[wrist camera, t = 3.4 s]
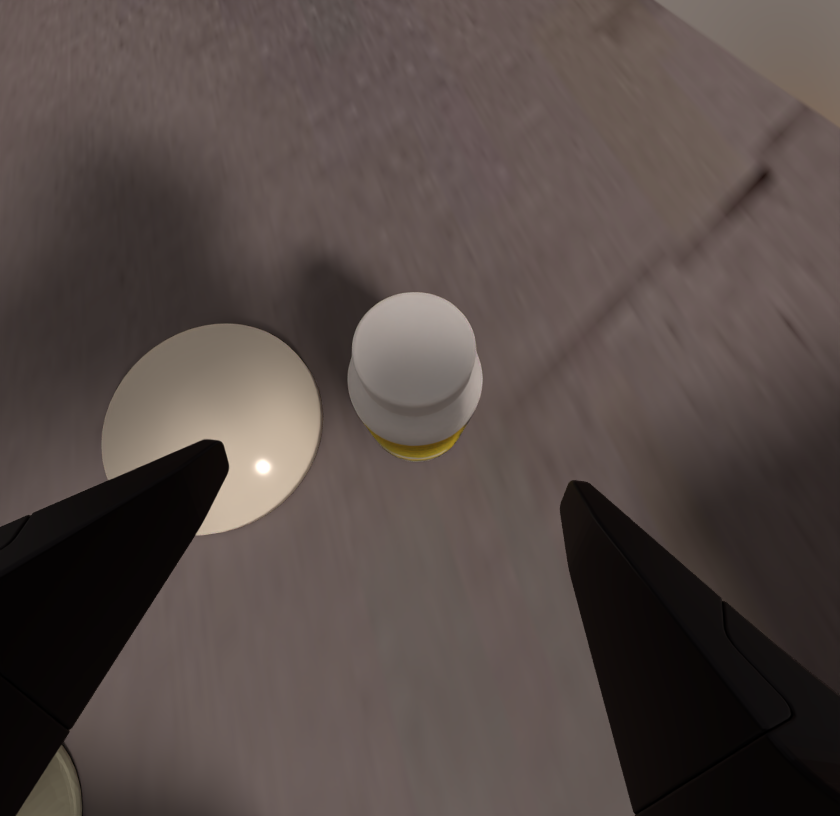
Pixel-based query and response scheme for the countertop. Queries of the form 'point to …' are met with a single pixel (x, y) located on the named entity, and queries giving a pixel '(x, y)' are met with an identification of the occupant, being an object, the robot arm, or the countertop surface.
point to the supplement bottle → (414, 374)
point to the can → (55, 790)
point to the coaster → (220, 415)
